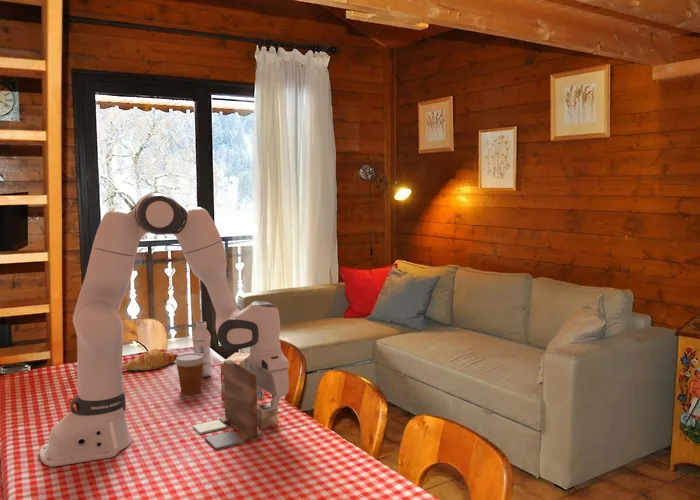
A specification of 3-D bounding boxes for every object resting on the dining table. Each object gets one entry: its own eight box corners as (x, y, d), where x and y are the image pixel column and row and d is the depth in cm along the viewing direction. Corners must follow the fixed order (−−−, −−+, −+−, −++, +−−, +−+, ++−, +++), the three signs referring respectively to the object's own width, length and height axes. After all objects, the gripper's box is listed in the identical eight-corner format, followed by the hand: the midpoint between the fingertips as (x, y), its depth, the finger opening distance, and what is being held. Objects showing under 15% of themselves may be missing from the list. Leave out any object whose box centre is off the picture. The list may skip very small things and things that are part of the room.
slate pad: (216, 450, 163) (216, 447, 163) (205, 439, 170) (205, 437, 170) (244, 442, 168) (244, 440, 168) (232, 432, 174) (232, 430, 174)
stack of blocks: (246, 378, 222) (245, 345, 221) (262, 379, 221) (262, 346, 219) (221, 399, 202) (220, 362, 200) (239, 400, 200) (238, 363, 199)
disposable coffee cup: (170, 394, 206) (169, 359, 205) (187, 385, 215) (186, 351, 213) (194, 397, 203) (193, 362, 201) (210, 388, 211) (210, 354, 210)
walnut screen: (244, 442, 168) (242, 378, 166) (219, 421, 183) (217, 362, 181) (264, 437, 171) (263, 374, 169) (237, 417, 186) (236, 358, 184)
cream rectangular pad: (200, 434, 173) (199, 432, 173) (192, 427, 178) (192, 425, 178) (226, 428, 178) (226, 426, 178) (219, 421, 183) (218, 419, 183)
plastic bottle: (210, 379, 221) (208, 324, 219) (191, 379, 221) (189, 324, 219) (214, 373, 227) (212, 320, 225) (195, 373, 228) (194, 320, 225)
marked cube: (262, 428, 178) (261, 411, 177) (254, 422, 182) (254, 405, 181) (277, 424, 181) (277, 407, 180) (270, 419, 185) (269, 402, 184)
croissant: (126, 382, 228) (128, 366, 224) (117, 364, 235) (119, 348, 231) (181, 370, 241) (184, 355, 237) (171, 353, 248) (174, 338, 244)
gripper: (240, 350, 186) (242, 394, 188) (271, 367, 169) (273, 415, 171) (260, 346, 190) (261, 390, 191) (292, 363, 173) (293, 410, 174)
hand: (267, 402), depth 181 cm, fingers open, 8 cm apart
